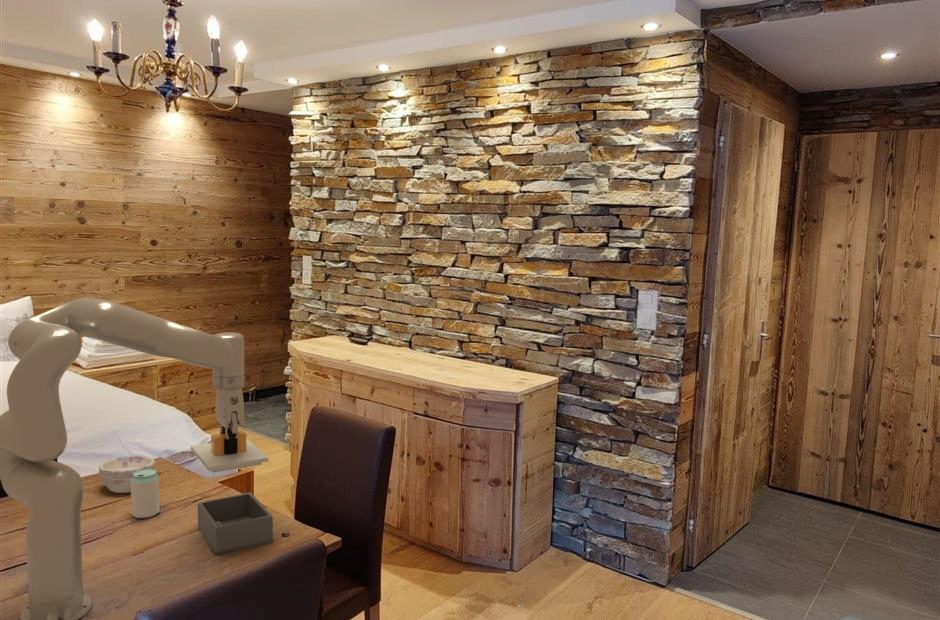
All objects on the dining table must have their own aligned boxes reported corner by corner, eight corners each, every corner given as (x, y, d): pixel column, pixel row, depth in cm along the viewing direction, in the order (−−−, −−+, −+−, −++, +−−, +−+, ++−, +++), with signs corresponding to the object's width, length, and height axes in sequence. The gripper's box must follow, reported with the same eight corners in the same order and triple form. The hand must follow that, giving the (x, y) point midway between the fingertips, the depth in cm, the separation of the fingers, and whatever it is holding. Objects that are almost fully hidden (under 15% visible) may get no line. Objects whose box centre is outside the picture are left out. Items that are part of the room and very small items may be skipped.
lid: (268, 465, 171) (268, 440, 170) (209, 475, 162) (208, 449, 162) (246, 445, 186) (246, 422, 185) (191, 453, 177) (190, 429, 177)
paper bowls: (148, 475, 216) (147, 451, 215) (161, 490, 205) (161, 464, 204) (94, 485, 206) (93, 460, 206) (105, 501, 195) (104, 475, 194)
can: (159, 517, 186) (158, 475, 184) (130, 521, 183) (129, 478, 182) (160, 507, 192) (159, 467, 191) (132, 510, 189) (131, 469, 188)
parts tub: (272, 541, 174) (272, 515, 173) (216, 555, 166) (216, 528, 165) (250, 516, 188) (250, 492, 188) (198, 527, 180) (197, 502, 179)
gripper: (253, 386, 167) (253, 458, 169) (234, 373, 180) (234, 440, 182) (222, 389, 163) (222, 463, 165) (205, 376, 176) (205, 444, 178)
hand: (228, 450), depth 174 cm, fingers closed on lid, 3 cm apart
